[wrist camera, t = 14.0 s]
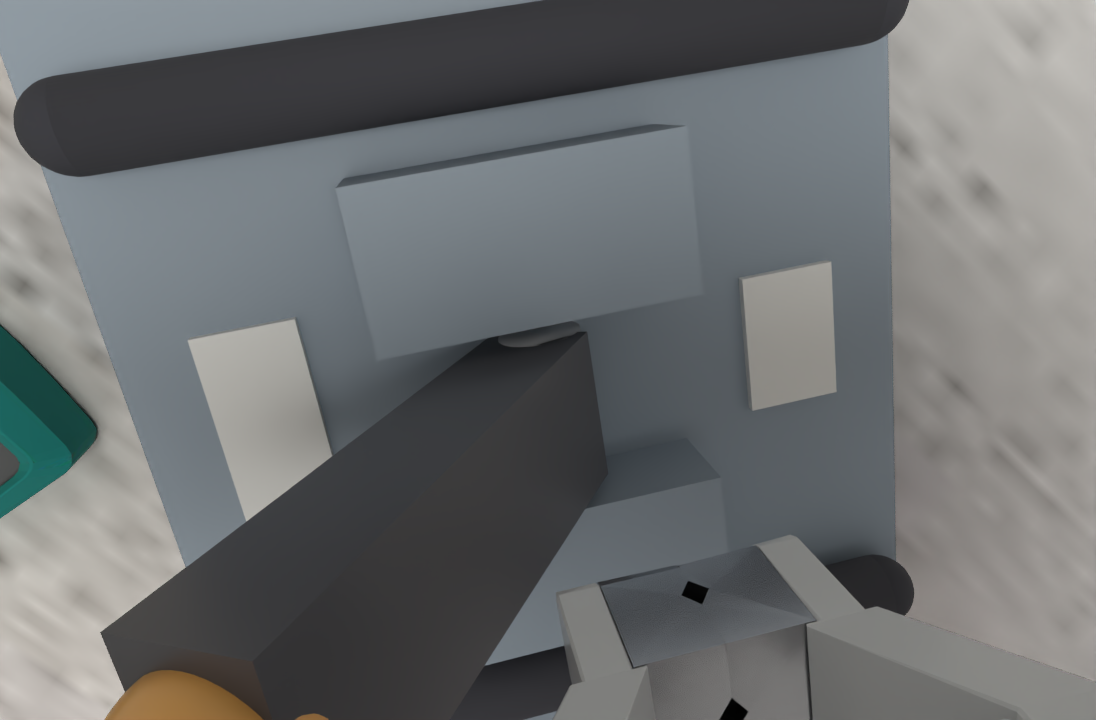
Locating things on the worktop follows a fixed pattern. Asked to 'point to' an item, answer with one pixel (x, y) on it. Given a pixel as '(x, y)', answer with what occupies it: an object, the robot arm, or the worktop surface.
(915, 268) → the worktop surface
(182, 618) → the breaker lever
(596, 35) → the dark parallel rails
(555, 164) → the box
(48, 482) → the digital multimeter
